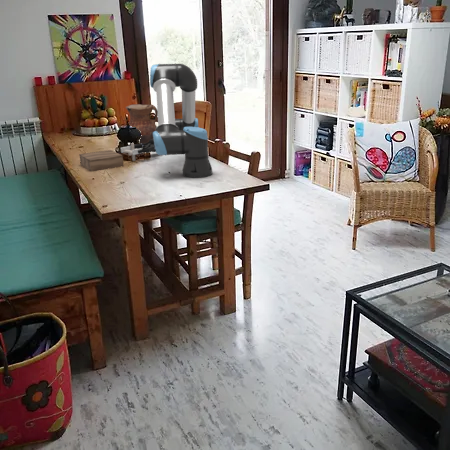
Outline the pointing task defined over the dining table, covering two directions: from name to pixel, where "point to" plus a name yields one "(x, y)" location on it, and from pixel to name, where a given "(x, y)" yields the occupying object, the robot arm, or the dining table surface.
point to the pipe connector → (131, 152)
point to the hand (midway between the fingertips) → (126, 151)
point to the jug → (143, 120)
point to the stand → (101, 160)
